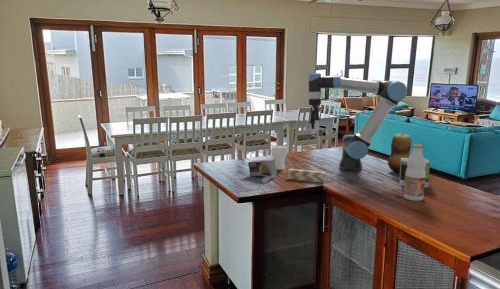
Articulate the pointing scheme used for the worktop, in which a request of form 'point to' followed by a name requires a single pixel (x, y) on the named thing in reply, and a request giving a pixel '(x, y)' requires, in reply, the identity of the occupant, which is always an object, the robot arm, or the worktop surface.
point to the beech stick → (306, 175)
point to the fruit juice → (415, 175)
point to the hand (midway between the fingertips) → (314, 132)
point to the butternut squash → (399, 151)
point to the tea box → (404, 166)
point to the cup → (279, 156)
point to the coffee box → (262, 167)
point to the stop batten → (267, 178)
